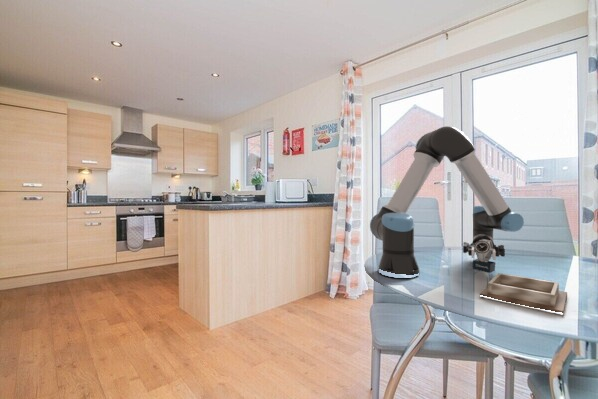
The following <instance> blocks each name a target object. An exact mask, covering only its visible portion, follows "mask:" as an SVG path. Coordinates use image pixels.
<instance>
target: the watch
mask: <svg viewBox="0 0 598 399" xmlns="http://www.w3.org/2000/svg"><path fill="white" fill-rule="evenodd" d="M492 248H493V245H492V241H491V240H485V239H482V240H480V241H479V242H477V243H476V244H475V246H474V249H475V255H476V259H473V260H472V269H473V270H477V271H481V272H485V273H489V274H491V273H493V272H495V270H496V262H495V261H491V259H492V258H493V257H492Z"/></svg>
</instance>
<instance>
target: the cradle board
mask: <svg viewBox="0 0 598 399" xmlns="http://www.w3.org/2000/svg"><path fill="white" fill-rule="evenodd" d="M559 283H560V282H557V281H552V280H544V279H538V278H531V277H525V276H520V275H519V276H518V275H513V274H512V275H511V274H506V273H497V274H496V275H495V276H494V277H493V278H492V279H491V280H490V281H488V282H487V285H486V287H485V288H484V289H483V290H481V291H480V293H479V296H480V295H483V296H487V297H491V298H494V299H498V300H502V301H506V302H511V303H515V304H520V305H525V306H529V307H534V308H540V309H545V310H551V311H555V312H562V313H563V312H564V313H565V309H566V304H567V299H568V298H567V297H568V292H567V291H563V290H559V289H560V288H559V285H560V284H559ZM565 303H566V304H565ZM564 308H565V309H564Z"/></svg>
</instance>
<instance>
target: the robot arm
mask: <svg viewBox="0 0 598 399" xmlns="http://www.w3.org/2000/svg"><path fill="white" fill-rule="evenodd" d="M412 156H413V158H414V159H413V161H412V163H411V164H410V166H409V168H408V169H407V171H406V173H405V175H404V176H403V178H402V179H401V182H400V183H399V185H398V186H397V188H396V190H395V192H394V193H393V195H392V197H391V198H390V199H389V202H388V203H387V204H386V205H383V206H382V207H381V208H380V210H379V212H378V213H377V214H375V215H374V216H373V217H372V218H371V220H370V221H369V230H370V232H371V234H372V235H373V236H374V237H375V238H376V239H378V240H379V241H382V254H381V258H380V261H379V263H378V264H379V265H378V267H379V268H378V270H379V269H381V270H383V271H387V272H391V273H395V274H406V275H414V274H418V273H419V274H420V267H419V264H418V262H417V259H416V256H415V229H414V228H415V222H414V217H413V216H412V215H410V214H408V211H409V209H410V207H411V206H412V204H413V202H414V201H415V199H416V197H417V196H418V194H419V192H420V191H421V189H422V188H423V185H425V182H426V180H427V179H428V177H429V176H430V174H431V172H432V171H433V169H434V168H437V167H439V166H440V165H441V163H442V162H443V159H444V157H446V158H447V159H448V160H449V162H450V163H451V164H455V166H456V168H457V169H458V171H459V172H460V173H461V176H462V177H463V178H464V180H465V181H466V183H467V185H468V186H469V187H470V189H471V191H472V192H473V194H474V196H476V198H477V200H478V201H479V203H480V205H474V206H473V208H472V242H471V243H469V242H466V241H463V244H462V253H464V254H468V256H470V257H471V259H474V258H475V254H476V252H475V249H474V246H475V244H476V243H477V242H479V241H480V240H482V239H485V240H491V241H492V245H493V248H492V257H491V258H492V260H493V261H496V260H497V259H496V257H500V256H501V258H502V257H506V255H505V254H506V250H505V245H504V244H499V245H496V244H495V243H494V230H498V231H502V232H503V231H504V232H511V233H513V232H514V233H515V232H518V231H520V230H521V229H522V228H523V226H524V224H525V221H524V217H523V216H522V215H521V214H520V213H518V212H515V211H512V209H511V208H510V207H509V205H508V204H507V202H506V200H505V199H504V197H503V196H502V193H501V192H500V191H499V189H498V188H497V185H496V184H495V183H494V182H493V180H492V178H491V177H490V174H488V172H487V170H486V169H485V167H484V166H483V164H482V163H481V161H480V159H479V158H478V156H477V155H476V148H475V146H474V144H473V143H472V142H471V140H470V139H469V137H468V136H466V135H465V133H464V132H463V131H461V130H459V129H458V128H456V127H453V126H442V127H439V128H437V129H435V130H433V131H430V132H427V133H425V134H424V135H422V136H420V138H419V139H418V140H417V142H416V145H415V151H414V152H413V155H412Z"/></svg>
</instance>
